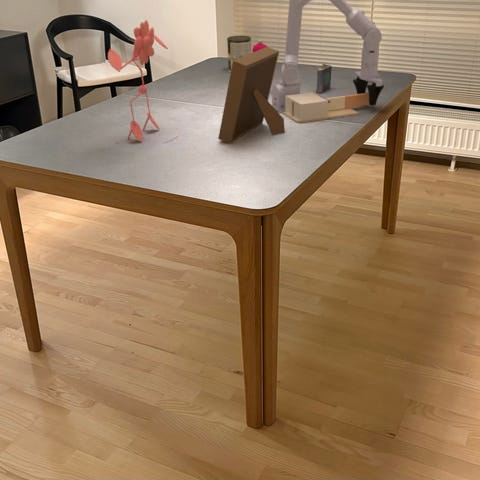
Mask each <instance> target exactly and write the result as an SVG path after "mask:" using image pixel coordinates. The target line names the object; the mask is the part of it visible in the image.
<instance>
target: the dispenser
mask: <svg viewBox="0 0 480 480" xmlns="http://www.w3.org/2000/svg"><path fill="white" fill-rule="evenodd" d="M325 98H326V97H323V96H321V95H319V93H317V92H314V91H313V92H312V91H309V92H303V93H301V92H300V94H293V95H286V96H285V112H282V114H283V115H285V117H287V118H289V119H290V120H292V121H294V122H295V123H297V124H303V123H307V122H315V121H321V119H323V120H329V119H328V118H330V119H335V117H336V118H341V116H343V117H348V116H349V115H350V116H355V115H357V116H358V115H359V111H356V110H354V109H352V107H350V108H343V109H336V110H329V111H328V103H330V101H329V100H327V99H325Z"/></svg>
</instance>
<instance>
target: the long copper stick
mask: <svg viewBox="0 0 480 480" xmlns="http://www.w3.org/2000/svg"><path fill="white" fill-rule="evenodd" d="M324 98H325V99H327V100H329V101H330V103H328V111H329V110H336V109H343V108H355V107H362V106H363V107H364V106H370V105H369V92H365V93H362V94H357V93H355V94H349V95H348V94H347V95H341V96H340V95H339V96H334V97H324Z"/></svg>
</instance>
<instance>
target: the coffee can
mask: <svg viewBox="0 0 480 480" xmlns="http://www.w3.org/2000/svg"><path fill="white" fill-rule="evenodd" d="M226 40H227V63H228V66H227V68H228V73H231V69H232V64H233V61H234V60H236V59H239V58H241V57H243V56H246V55H248V54H251V53H252V41H251V40H252V37H251V36H249V35H231V36H229V37H227V38H226Z"/></svg>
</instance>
